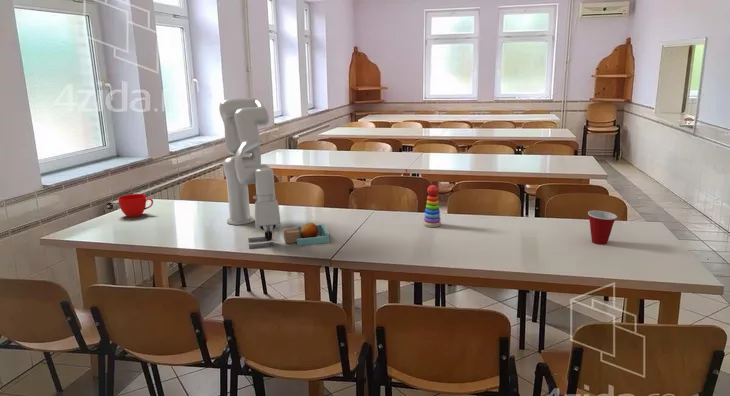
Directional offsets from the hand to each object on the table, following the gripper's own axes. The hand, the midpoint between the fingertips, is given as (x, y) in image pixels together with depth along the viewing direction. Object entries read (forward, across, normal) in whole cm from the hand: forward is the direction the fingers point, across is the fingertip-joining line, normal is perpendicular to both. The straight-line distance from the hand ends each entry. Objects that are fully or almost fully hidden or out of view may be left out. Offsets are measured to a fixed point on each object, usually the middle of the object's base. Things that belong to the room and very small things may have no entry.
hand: (268, 240), depth 226 cm
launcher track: (+1, -3, 0) cm, 4 cm away
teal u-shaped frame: (+1, +18, 0) cm, 18 cm away
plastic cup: (+1, +128, -42) cm, 135 cm away
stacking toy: (+1, +74, +2) cm, 74 cm away
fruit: (+2, +17, 0) cm, 17 cm away
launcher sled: (+1, +10, 0) cm, 10 cm away
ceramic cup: (+2, -62, +68) cm, 92 cm away
